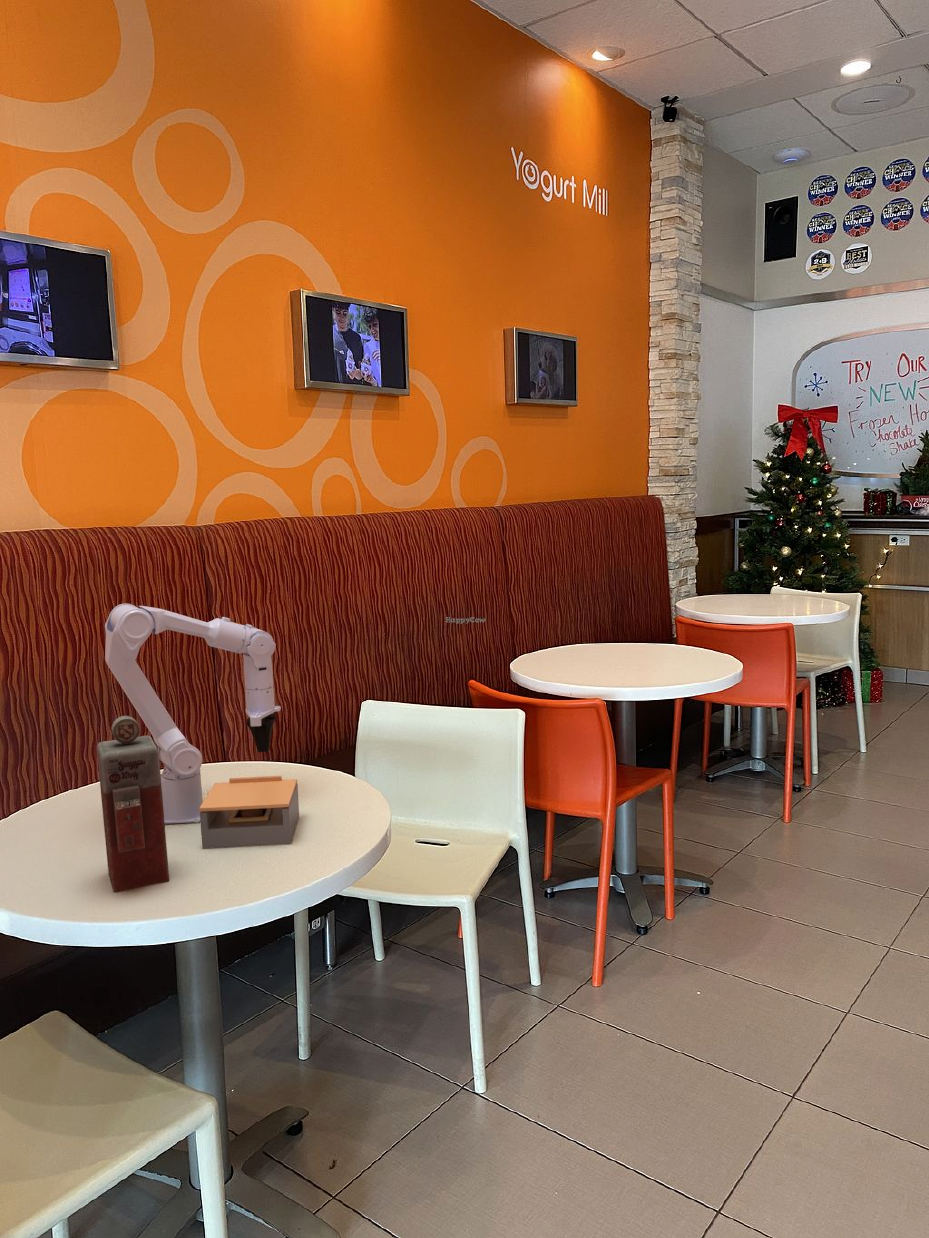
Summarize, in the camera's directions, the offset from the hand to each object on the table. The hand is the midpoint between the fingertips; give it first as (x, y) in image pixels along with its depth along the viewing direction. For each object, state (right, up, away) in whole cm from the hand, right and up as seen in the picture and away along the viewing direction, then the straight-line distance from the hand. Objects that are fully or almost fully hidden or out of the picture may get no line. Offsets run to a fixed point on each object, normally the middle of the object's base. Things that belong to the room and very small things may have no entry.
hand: (263, 751), depth 194 cm
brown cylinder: (+1, -13, -16) cm, 21 cm away
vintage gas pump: (-13, -17, -36) cm, 42 cm away
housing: (+1, -13, -16) cm, 21 cm away
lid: (+1, -6, -17) cm, 18 cm away
